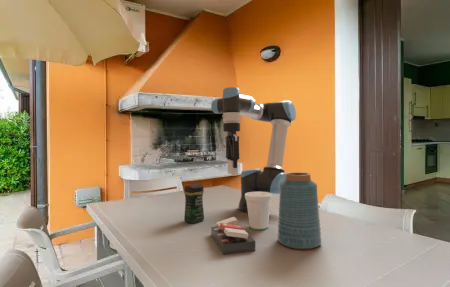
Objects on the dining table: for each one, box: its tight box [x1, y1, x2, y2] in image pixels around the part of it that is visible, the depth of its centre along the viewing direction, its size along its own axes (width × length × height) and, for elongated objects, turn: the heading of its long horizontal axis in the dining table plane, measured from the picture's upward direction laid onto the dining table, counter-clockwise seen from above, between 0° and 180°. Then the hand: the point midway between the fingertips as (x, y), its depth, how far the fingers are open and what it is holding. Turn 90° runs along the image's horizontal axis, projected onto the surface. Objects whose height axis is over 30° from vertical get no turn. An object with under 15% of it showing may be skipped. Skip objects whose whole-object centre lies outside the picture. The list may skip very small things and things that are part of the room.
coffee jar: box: [183, 183, 205, 224], centre depth 136 cm, size 10×8×19 cm
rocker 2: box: [220, 223, 244, 230], centre depth 107 cm, size 8×5×2 cm, turn 104°
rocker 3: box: [224, 228, 249, 238], centre depth 100 cm, size 8×5×2 cm, turn 105°
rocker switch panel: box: [210, 223, 256, 256], centre depth 110 cm, size 12×28×5 cm, turn 14°
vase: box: [277, 171, 322, 251], centre depth 105 cm, size 16×16×27 cm
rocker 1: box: [215, 216, 239, 229], centre depth 113 cm, size 8×5×2 cm, turn 104°
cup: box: [245, 192, 273, 231], centre depth 124 cm, size 12×12×15 cm
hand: (232, 174), depth 121 cm, fingers open, 6 cm apart
